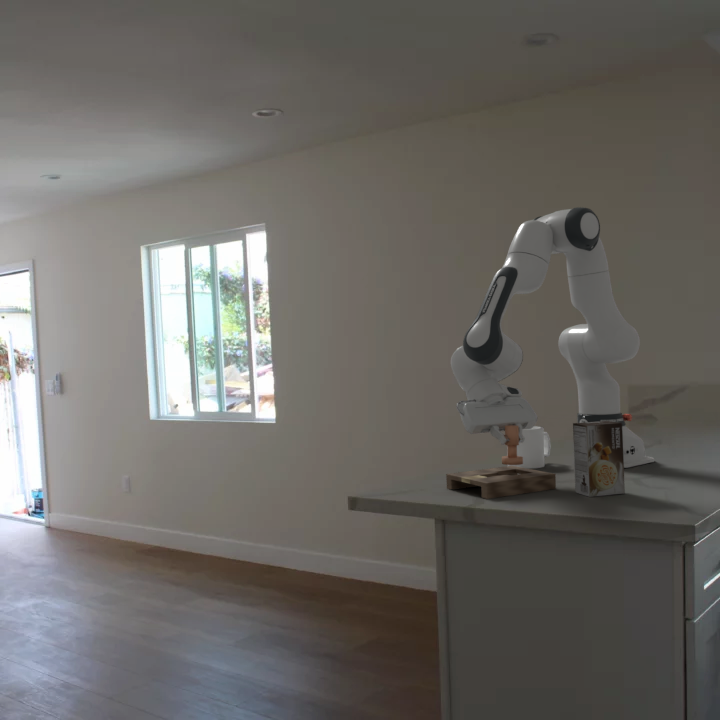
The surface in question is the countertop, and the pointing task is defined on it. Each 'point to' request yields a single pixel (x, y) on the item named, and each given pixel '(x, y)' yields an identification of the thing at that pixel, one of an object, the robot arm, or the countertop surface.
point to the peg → (512, 446)
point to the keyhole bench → (503, 481)
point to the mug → (533, 448)
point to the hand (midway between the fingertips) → (513, 442)
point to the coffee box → (598, 458)
